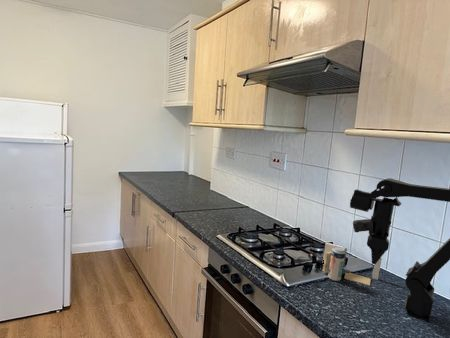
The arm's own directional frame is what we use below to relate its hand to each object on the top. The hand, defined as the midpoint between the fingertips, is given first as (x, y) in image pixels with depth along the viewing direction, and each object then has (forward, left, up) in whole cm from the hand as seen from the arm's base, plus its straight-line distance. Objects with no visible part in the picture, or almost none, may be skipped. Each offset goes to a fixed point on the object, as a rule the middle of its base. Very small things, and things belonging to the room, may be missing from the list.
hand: (373, 258), depth 108 cm
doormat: (+4, -9, -13) cm, 17 cm away
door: (+13, -9, -13) cm, 20 cm away
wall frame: (+7, -15, -13) cm, 21 cm away
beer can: (+12, -4, -13) cm, 18 cm away
